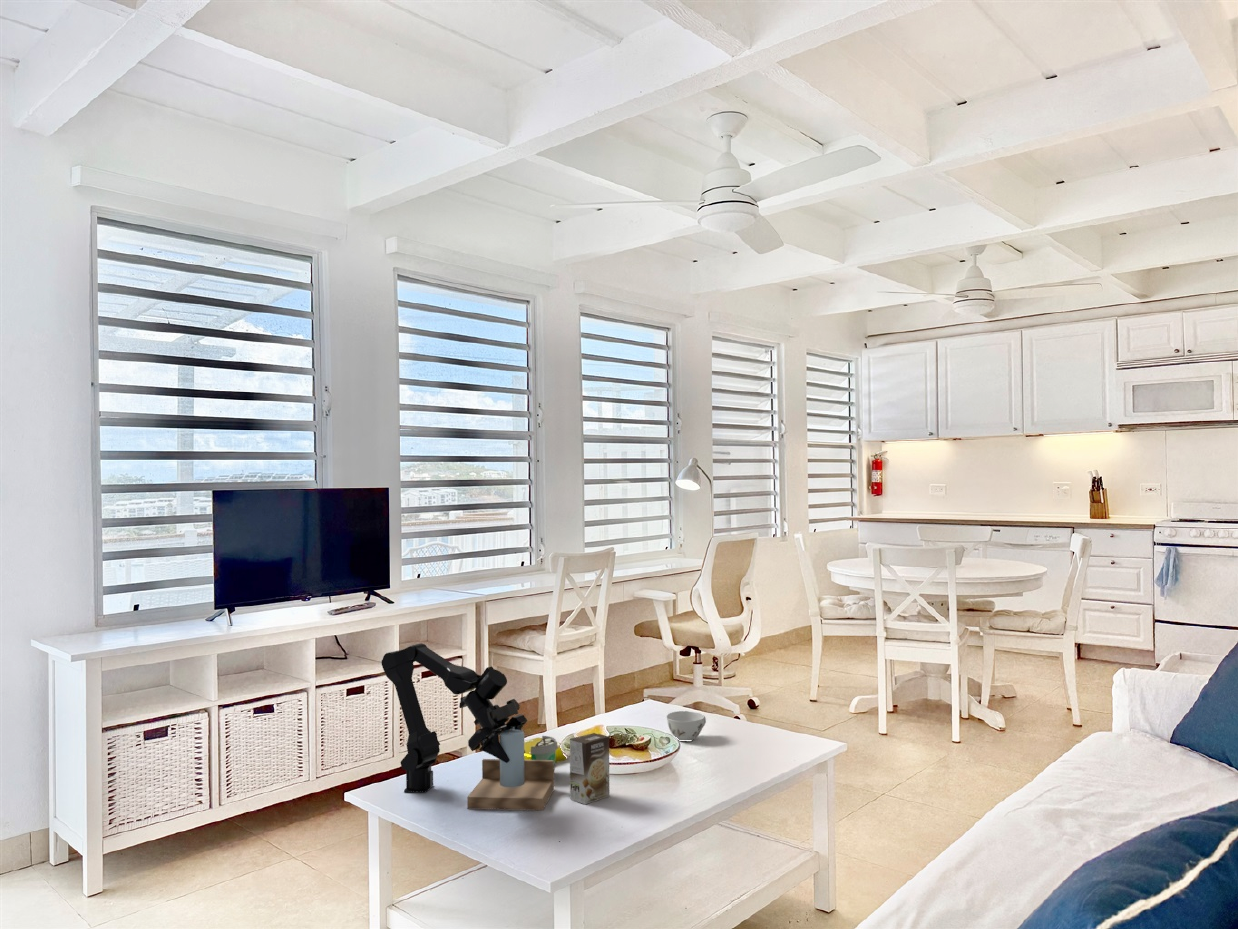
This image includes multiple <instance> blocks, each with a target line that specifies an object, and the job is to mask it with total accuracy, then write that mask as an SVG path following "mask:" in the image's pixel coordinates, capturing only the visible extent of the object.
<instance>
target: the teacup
mask: <svg viewBox="0 0 1238 929" xmlns="http://www.w3.org/2000/svg"><path fill="white" fill-rule="evenodd" d="M666 721H667V725H668V730H669V731H670V732H671V734H672V735H673V736H675V737H677V738H678V739H679V740H693V739H694V740H695V739H697V737H698V736H699V735H700V734H701V732H702V730H703V728H704V726H706V723H707V719H706V716H705V715H704V714H702V713H701V712H694V711H689V710H685V711H684V710H679V711H673V712H669V713H668V714H667V715H666ZM675 737H674V738H675ZM694 740H693V741H694Z"/></svg>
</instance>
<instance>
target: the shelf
mask: <svg viewBox="0 0 1238 929" xmlns="http://www.w3.org/2000/svg"><path fill="white" fill-rule="evenodd" d="M524 761H525V783H524V784H523V785H522V786H519V787H503V786H501V785H500V759H498V758H483V759H482V760H481V765H482V767H481V771H482V773H481V774H482V778H481V779H480V781H479V782H478V783H477V784H476V786H474V788H473V789H472V791H471V792H470V793H468V794H469V795H467V800H466V804H467V806H466V807H467V808H466V809H468V810H474V809H475V810H505V811H507V810H510V811H514V810H515V811H516V810H517V811H544V808H545V807H546V805H547V803H548V802H549V799H550V798H551V796H552V794H553V792H554V790H555V770H554V760H524Z"/></svg>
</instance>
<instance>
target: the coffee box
mask: <svg viewBox="0 0 1238 929" xmlns="http://www.w3.org/2000/svg"><path fill="white" fill-rule="evenodd" d="M608 797H610V736H608V735H605V734H601V733H597V732H596V733H595V732H592V733H588V734H584V735H579V736H575V737H572V738H569V799H570V800H571V801H574V802H577V803H580V804H583V805H587V804H590V803H594V802H596V801H599V800H602V799H605V798H608Z"/></svg>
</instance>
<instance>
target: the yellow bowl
mask: <svg viewBox="0 0 1238 929" xmlns="http://www.w3.org/2000/svg"><path fill="white" fill-rule="evenodd" d="M541 740H542V737H535V738H531V739H528V740H524V749H525V755H524V760H531V747H535V746H536V744H537V743H538V742H540V741H541ZM561 744H562V742H561V743H560V742H557V745H558V749H557V750H556V752H555V764H556V763H559V762H562V761H566V760H567V759H566V757H565V756H564V755H563V753H562V751H561V748H560V745H561Z"/></svg>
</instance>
